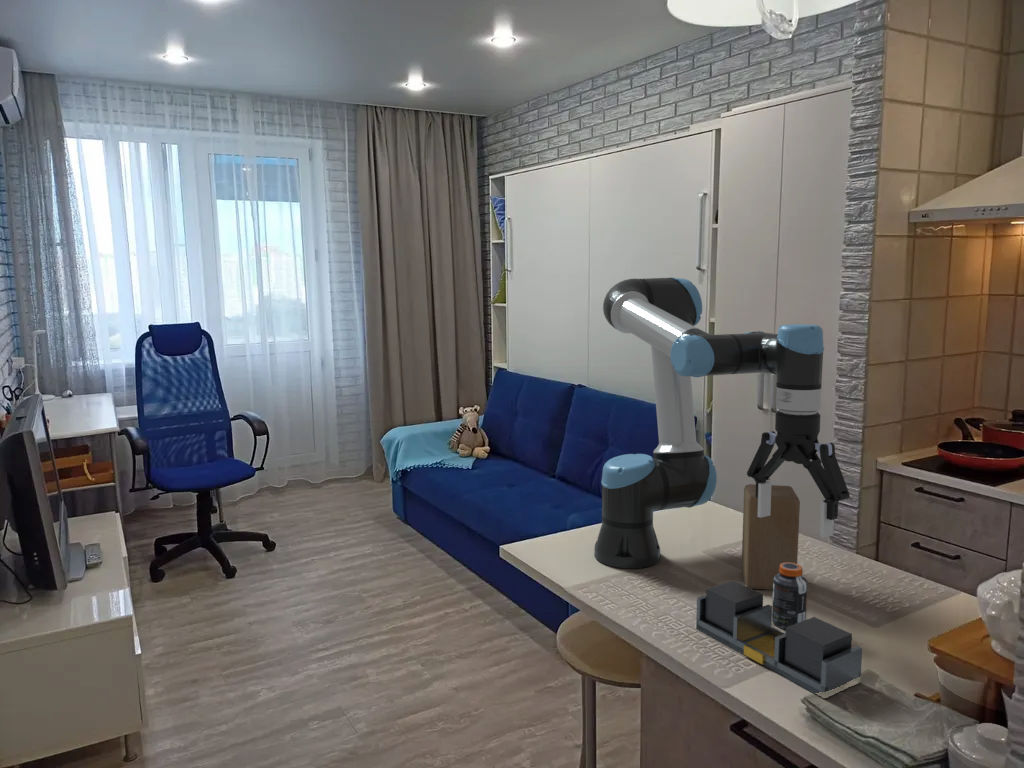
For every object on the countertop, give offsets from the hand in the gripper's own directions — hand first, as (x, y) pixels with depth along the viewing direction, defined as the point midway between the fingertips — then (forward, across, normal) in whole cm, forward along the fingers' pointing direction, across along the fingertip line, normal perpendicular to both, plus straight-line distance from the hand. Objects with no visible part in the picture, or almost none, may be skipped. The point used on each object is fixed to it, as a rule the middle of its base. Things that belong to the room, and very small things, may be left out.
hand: (793, 525), depth 135 cm
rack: (+19, +6, -12) cm, 23 cm away
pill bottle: (+19, 0, 0) cm, 19 cm away
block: (+19, -16, +12) cm, 27 cm away
